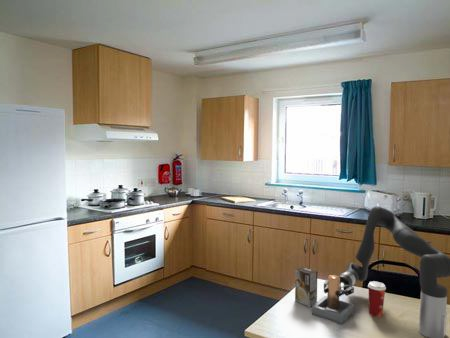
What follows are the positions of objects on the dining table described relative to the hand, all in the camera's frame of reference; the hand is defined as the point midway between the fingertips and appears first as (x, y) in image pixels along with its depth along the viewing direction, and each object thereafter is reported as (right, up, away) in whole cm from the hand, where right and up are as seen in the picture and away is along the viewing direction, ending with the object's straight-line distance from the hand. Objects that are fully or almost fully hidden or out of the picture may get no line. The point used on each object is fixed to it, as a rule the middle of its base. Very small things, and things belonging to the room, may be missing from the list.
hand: (331, 292), depth 160 cm
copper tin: (+2, -7, +3) cm, 8 cm away
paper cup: (+21, -11, +3) cm, 24 cm away
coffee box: (-8, -10, +14) cm, 19 cm away
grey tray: (+2, -10, +3) cm, 11 cm away
